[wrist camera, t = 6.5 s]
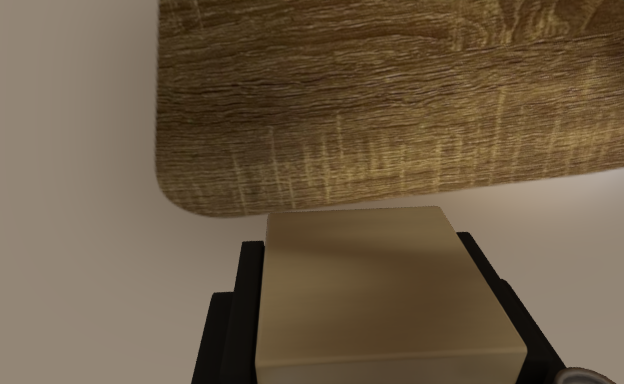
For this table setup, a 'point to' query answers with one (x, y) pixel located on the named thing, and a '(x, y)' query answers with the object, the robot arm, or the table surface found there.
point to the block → (378, 303)
